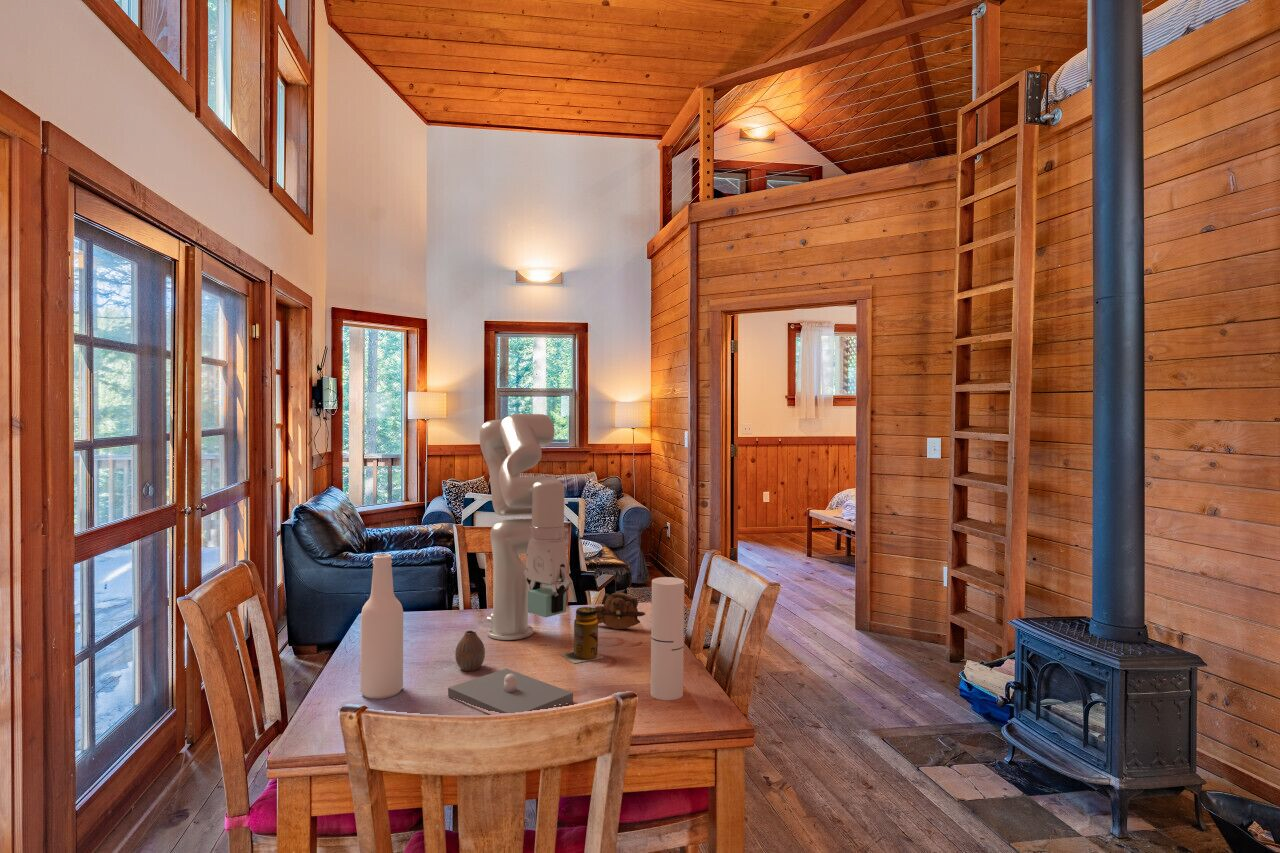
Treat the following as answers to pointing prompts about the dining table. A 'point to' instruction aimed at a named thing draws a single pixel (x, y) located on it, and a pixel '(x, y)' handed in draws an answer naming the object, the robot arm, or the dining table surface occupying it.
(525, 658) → the dining table surface
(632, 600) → the wooden carving
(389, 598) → the alcohol
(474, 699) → the post base
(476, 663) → the vase
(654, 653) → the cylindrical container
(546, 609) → the seafoam cuboid
